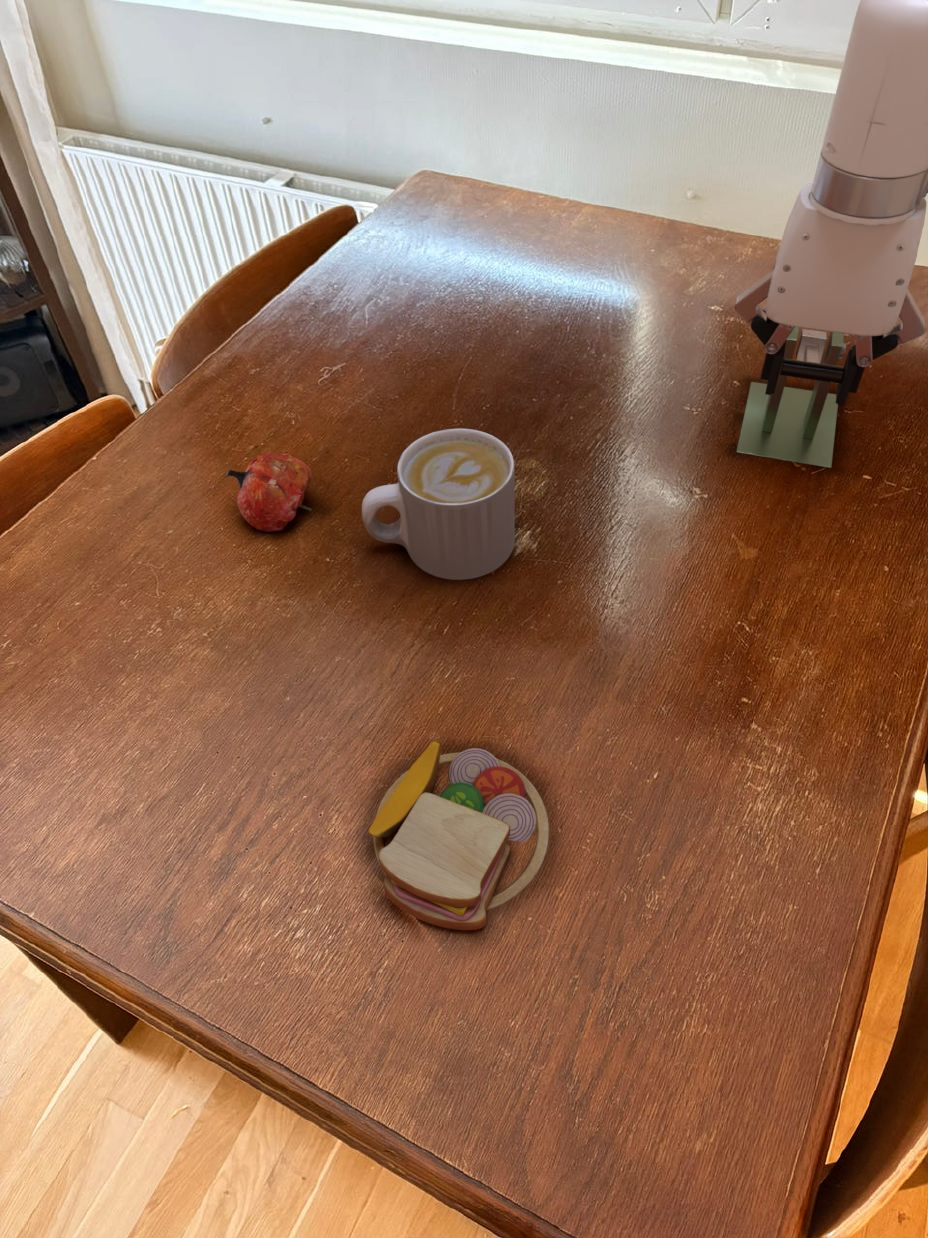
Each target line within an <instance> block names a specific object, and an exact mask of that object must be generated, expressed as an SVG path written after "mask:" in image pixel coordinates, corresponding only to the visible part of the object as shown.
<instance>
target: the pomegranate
mask: <svg viewBox="0 0 928 1238" xmlns="http://www.w3.org/2000/svg"><path fill="white" fill-rule="evenodd" d="M229 476H230V477H234V478H236V480H237V482H238V486H239V487H238V492H237V496H236V505H237V508H238V510H239V512H240V514H241V516H242V517H243V519H244V520H245V521H246V522H247V524H249V525H250V526H252V527H253V528H254V529H256V530H258V531H262V532H266V533H271V532H280V531H282V530H284V529H285V527H287V526H288V523H290V522H292V521H293V520H294V519H295V517H296V514H297V511H298V508H300V509H302V510H304V511H308V512H309V511H310V512H311V511H312V508H310V507H307V506H306V505H304V504H303V502H304V499H305V493H306V490H307V488H308V486H309V484H310V483H311V481H312V479H313V473H312V471H311V468H310V467H309V466H308V465H307V464H306V463H305V462H303V461H302V460H300V459H299V458H296V457H295V456H292V455H290V454H287V453H266V454H262V455H259V456H256V457H255V458H254V459H253V460H251V461H250V463H249V464H248V465H247V467H246V470H245V471H238V470H232V468H229V470H228V471H227V473H226V475H225V476H224V478H227V477H229Z"/></svg>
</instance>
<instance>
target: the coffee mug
mask: <svg viewBox="0 0 928 1238" xmlns="http://www.w3.org/2000/svg"><path fill="white" fill-rule="evenodd" d="M396 468H397V469H396V473H397V482H396V483H392V484H385V485H380V486H376V487H374V488H373V489H371V490H369V491H368V492H367V493H366V494H365V495H364V497H363V499H362V503H361V518H362V524H363V526H364V529H365V530H366V531H367V533H368V535H369V536H370V537H372V538H373V539H374V540H376V541H378V542H382V543H388V544H397V545H401V546H402V547H403V548H405V549H406V551H407V554H408V556H409V557H410V559H411V560H412V561H413V563H414V564H415V565H416V566H417V567H418V568H419V569H421V570H422V571H423V572H425V573H426V574H429V575H432V576H433V577H436V578H441V579H444V580H452V581H453V580H455V581H461V580H462V581H463V580H471V579H476V578H477V579H478V578H480V577H483V576H485V575H488V574H490V573H492V572H494V571H496V570H497V569H499V568H500V567H502V565H504V563H505V562H507V561H508V559H509V557H510V556H511V554H512V552H513V550H514V547H515V539H516V534H515V533H516V528H515V527H516V524H515V523H516V521H515V519H516V518H515V517H516V515H515V514H516V513H515V509H516V507H515V506H516V505H515V499H516V498H515V495H516V493H515V491H516V490H515V481H516V480H515V478H516V477H515V474H516V473H515V472H516V471H515V459H514V457H513V454H512V452H511V450H510V448H509V447H508V446H507V445H506V444H505V443H504V442H503V441H502V440H500V439H499V438H497V437H495V436H494V435H492V434H489V433H487V432H484V431H481V430H477V429H471V428H461V427H459V428H447V429H441V430H437V431H433V432H430V433H428V434H425V435H423V436H421V437H420V438H418V439H416V440H415V441H413V442H411V444H409V445H408V446H407V447H406V449H405V450H403V452H402V454H401V455H400V457H399V460H398V462H397V467H396ZM384 507H385V508H386V507H393V508H395V509H396V510H397V511H398V512H399V518H397V520H396V521H395V522H392V523H384V522H382V521H380V520H379V518H378V516H377V514H378V512H379V511H380V509H383V508H384Z"/></svg>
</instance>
